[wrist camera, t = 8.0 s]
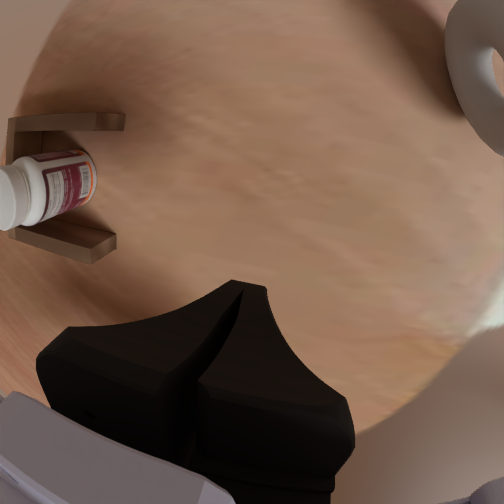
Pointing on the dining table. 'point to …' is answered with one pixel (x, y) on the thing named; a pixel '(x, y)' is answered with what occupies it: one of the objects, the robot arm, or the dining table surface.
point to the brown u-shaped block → (50, 230)
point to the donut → (477, 65)
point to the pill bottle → (44, 186)
